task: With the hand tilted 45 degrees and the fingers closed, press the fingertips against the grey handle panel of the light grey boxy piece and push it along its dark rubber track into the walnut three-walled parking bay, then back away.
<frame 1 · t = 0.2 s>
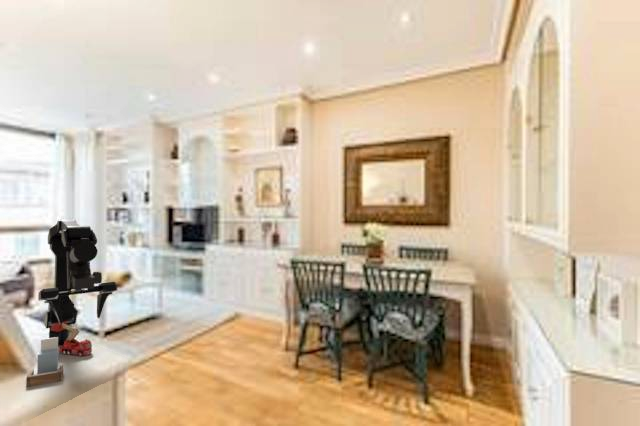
hand: (80, 320, 105), 15 cm above the cabinet, tool tilted 15°, fingers open, 9 cm apart
toy fire truck: (71, 353, 120), on the cabinet
dock: (47, 374, 104), on the cabinet
light grey boxy piece: (48, 356, 105), point 5 cm above the cabinet, slide at 0.0 cm
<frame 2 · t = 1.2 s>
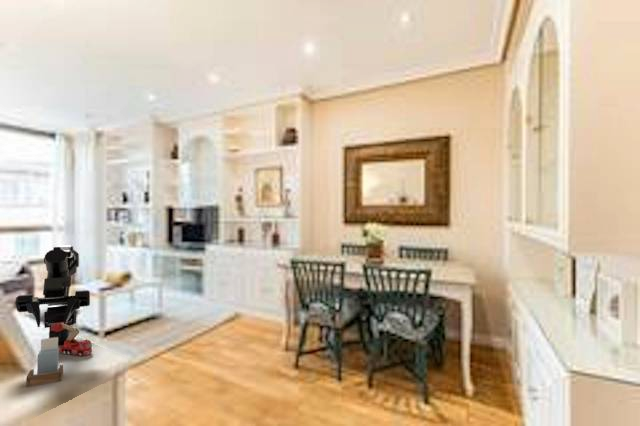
hand: (51, 325, 110), 12 cm above the cabinet, tool tilted 45°, fingers open, 6 cm apart
nothing on the cabinet moved.
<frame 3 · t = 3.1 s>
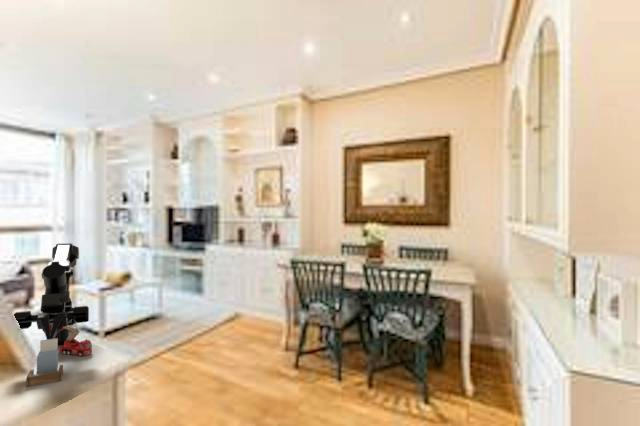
hand: (49, 342, 106), 8 cm above the cabinet, tool tilted 45°, fingers closed, pressing on light grey boxy piece
light grey boxy piece: (47, 357, 104), point 5 cm above the cabinet, slide at 1.2 cm, touching gripper
everything else where it was.
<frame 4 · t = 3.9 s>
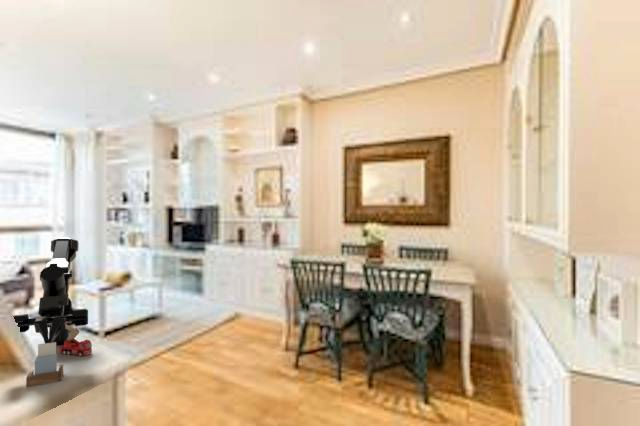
hand: (47, 346, 103), 8 cm above the cabinet, tool tilted 45°, fingers closed, pressing on light grey boxy piece
light grey boxy piece: (46, 362, 101), point 5 cm above the cabinet, slide at 4.7 cm, touching gripper
everything else where it was.
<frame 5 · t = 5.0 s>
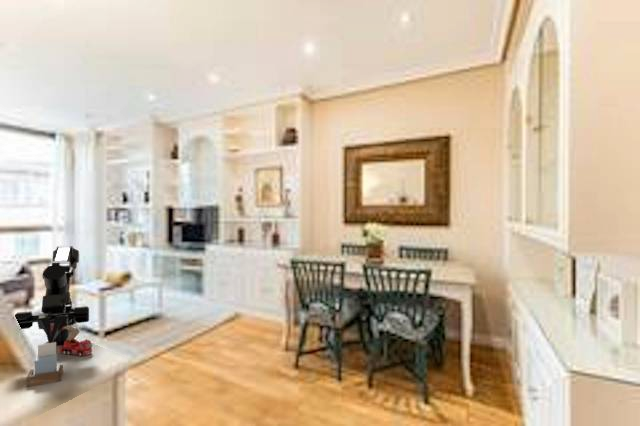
hand: (50, 343, 108), 8 cm above the cabinet, tool tilted 45°, fingers closed
light grey boxy piece: (46, 362, 101), point 5 cm above the cabinet, slide at 4.8 cm
everything else where it was.
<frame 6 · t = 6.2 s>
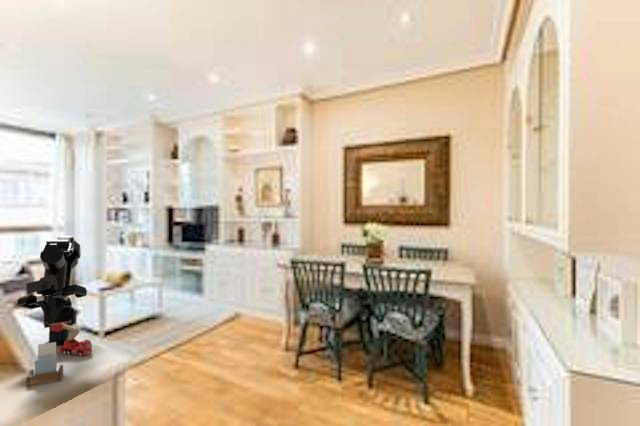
hand: (49, 324, 111), 12 cm above the cabinet, tool tilted 30°, fingers closed
nothing on the cabinet moved.
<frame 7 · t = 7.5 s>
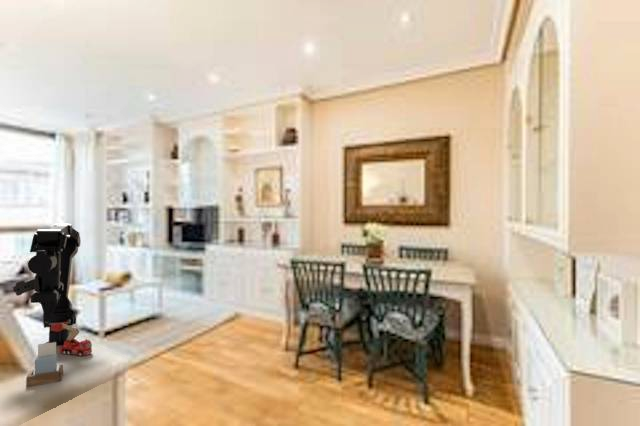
hand: (47, 318, 114), 13 cm above the cabinet, tool pointing down, fingers closed
nothing on the cabinet moved.
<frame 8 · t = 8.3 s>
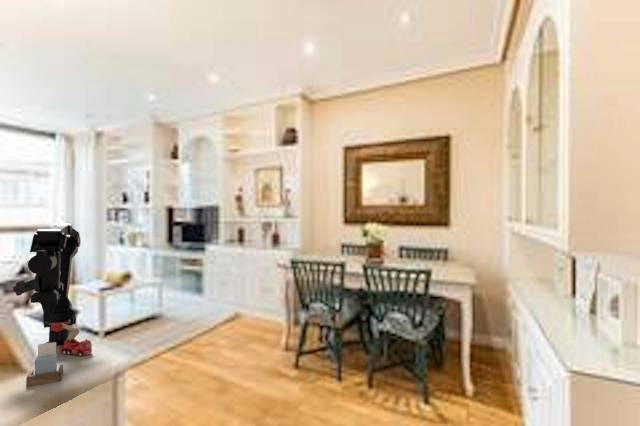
hand: (47, 318, 114), 13 cm above the cabinet, tool pointing down, fingers closed
nothing on the cabinet moved.
at the end: light grey boxy piece slide at 4.8 cm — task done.
